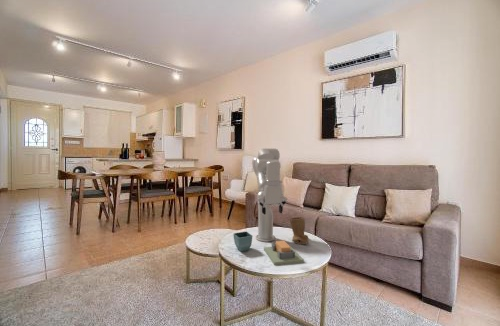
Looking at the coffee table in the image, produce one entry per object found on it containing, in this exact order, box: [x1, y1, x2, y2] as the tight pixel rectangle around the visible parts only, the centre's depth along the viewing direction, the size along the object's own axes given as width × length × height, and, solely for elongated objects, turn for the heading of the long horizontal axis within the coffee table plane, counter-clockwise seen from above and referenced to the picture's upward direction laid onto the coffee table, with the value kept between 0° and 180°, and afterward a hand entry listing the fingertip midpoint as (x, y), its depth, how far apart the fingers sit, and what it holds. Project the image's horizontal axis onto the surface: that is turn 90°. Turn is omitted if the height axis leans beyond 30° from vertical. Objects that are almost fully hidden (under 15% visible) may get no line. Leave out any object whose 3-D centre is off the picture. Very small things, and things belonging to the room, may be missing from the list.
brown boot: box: [289, 216, 309, 245], centre depth 161 cm, size 15×12×15 cm
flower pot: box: [233, 231, 253, 252], centre depth 147 cm, size 9×9×9 cm
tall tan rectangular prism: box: [275, 240, 291, 252], centre depth 138 cm, size 10×5×5 cm, turn 12°
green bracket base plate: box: [263, 242, 305, 266], centre depth 138 cm, size 20×16×4 cm
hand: (272, 213), depth 141 cm, fingers open, 9 cm apart
